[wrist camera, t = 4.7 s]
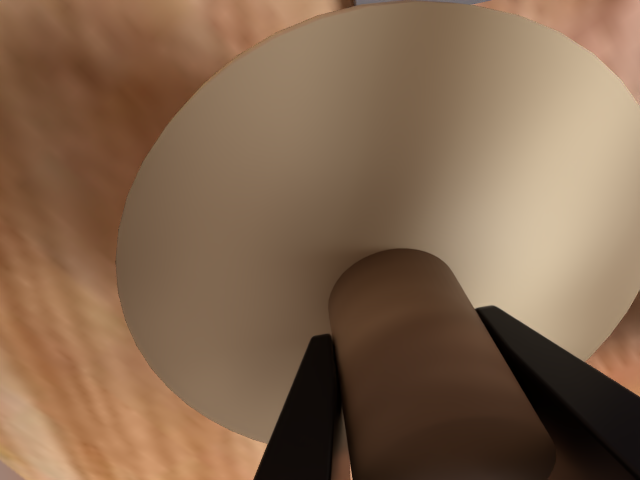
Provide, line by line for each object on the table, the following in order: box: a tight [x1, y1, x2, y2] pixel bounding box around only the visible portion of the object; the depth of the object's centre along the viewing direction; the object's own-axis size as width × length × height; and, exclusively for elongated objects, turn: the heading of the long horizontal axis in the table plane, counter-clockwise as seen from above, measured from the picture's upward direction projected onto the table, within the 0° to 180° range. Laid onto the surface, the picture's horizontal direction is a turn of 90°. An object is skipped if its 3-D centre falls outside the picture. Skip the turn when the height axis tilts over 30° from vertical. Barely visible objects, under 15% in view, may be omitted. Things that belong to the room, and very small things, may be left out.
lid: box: [116, 0, 640, 480], centre depth 8 cm, size 12×12×5 cm
